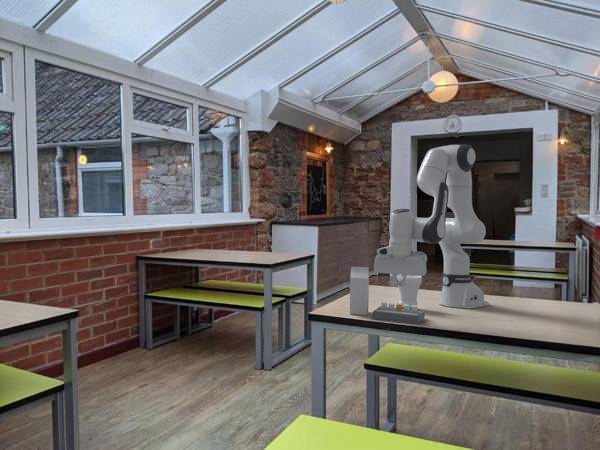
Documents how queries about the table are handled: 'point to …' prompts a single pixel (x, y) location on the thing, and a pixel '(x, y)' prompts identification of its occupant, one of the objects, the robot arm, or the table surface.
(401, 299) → the cup
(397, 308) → the rocker switch
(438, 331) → the table surface
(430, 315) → the table surface
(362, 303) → the milk carton
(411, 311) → the switch box
